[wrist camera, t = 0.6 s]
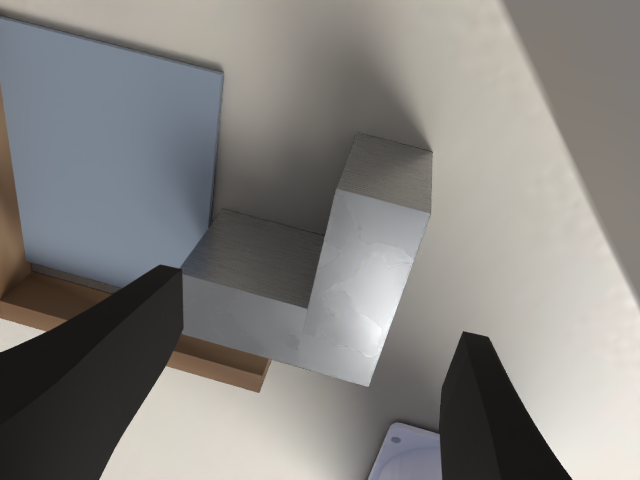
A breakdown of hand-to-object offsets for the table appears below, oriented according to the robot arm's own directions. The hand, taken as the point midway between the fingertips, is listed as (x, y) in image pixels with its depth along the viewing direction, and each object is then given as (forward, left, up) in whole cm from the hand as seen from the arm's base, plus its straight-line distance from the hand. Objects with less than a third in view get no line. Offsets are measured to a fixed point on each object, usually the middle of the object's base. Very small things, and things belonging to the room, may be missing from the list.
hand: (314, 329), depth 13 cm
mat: (-3, +11, -10) cm, 15 cm away
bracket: (-2, +2, -9) cm, 10 cm away
